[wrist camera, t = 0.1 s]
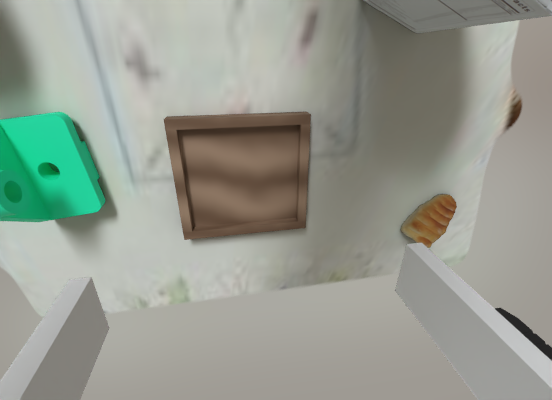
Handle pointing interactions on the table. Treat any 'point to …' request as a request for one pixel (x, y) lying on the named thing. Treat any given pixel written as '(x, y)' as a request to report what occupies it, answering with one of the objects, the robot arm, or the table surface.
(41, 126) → the camera mount
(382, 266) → the table surface
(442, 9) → the supplement box
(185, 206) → the tray
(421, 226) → the pastry
